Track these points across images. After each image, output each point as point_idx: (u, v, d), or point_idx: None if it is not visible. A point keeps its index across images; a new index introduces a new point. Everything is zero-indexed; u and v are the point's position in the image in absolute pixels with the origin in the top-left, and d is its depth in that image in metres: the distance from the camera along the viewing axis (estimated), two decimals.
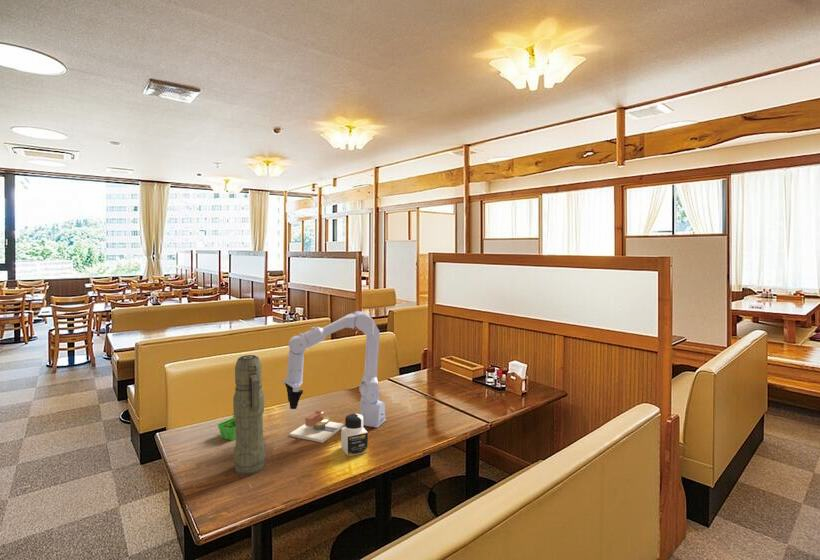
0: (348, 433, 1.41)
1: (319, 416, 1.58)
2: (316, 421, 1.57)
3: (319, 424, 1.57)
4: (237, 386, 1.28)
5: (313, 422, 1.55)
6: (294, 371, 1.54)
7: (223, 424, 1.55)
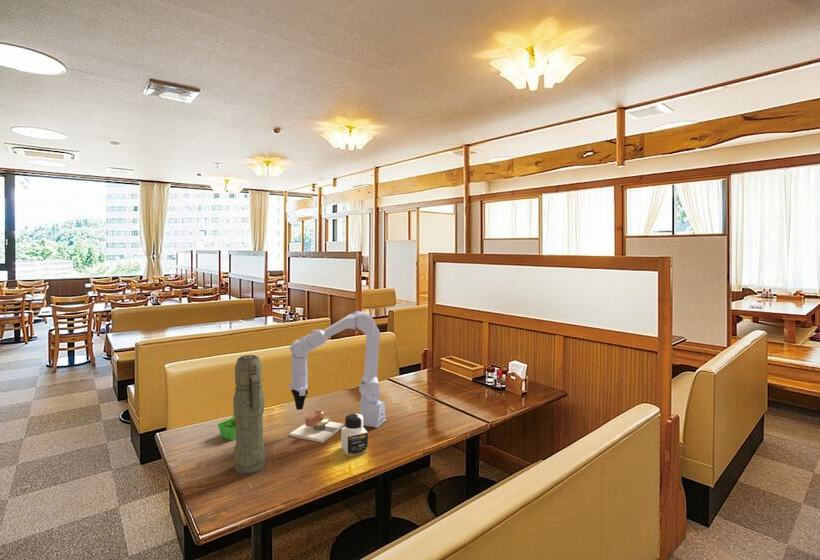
0: (348, 433, 1.41)
1: (319, 416, 1.58)
2: (316, 421, 1.57)
3: (319, 424, 1.57)
4: (237, 386, 1.28)
5: (313, 422, 1.55)
6: (299, 375, 1.54)
7: (223, 424, 1.55)
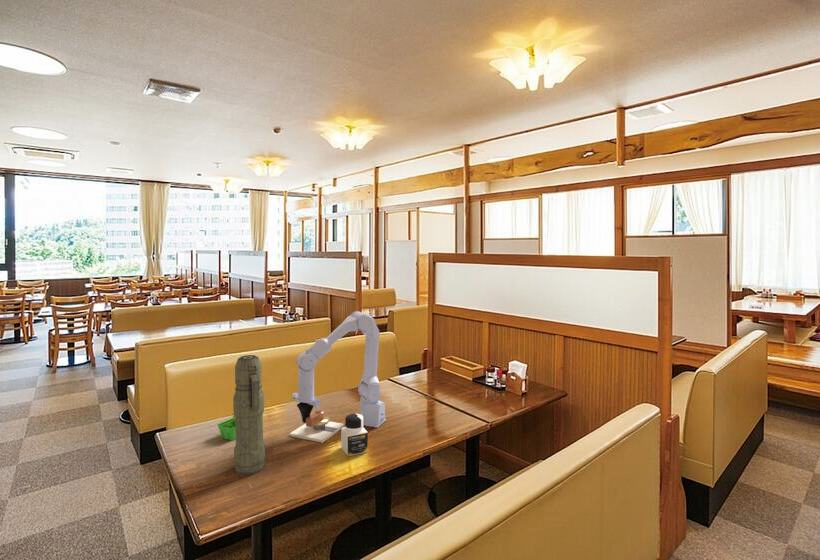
0: (348, 433, 1.41)
1: (319, 416, 1.58)
2: (316, 421, 1.57)
3: (319, 424, 1.57)
4: (237, 386, 1.28)
5: (313, 422, 1.55)
6: (309, 388, 1.53)
7: (223, 424, 1.55)
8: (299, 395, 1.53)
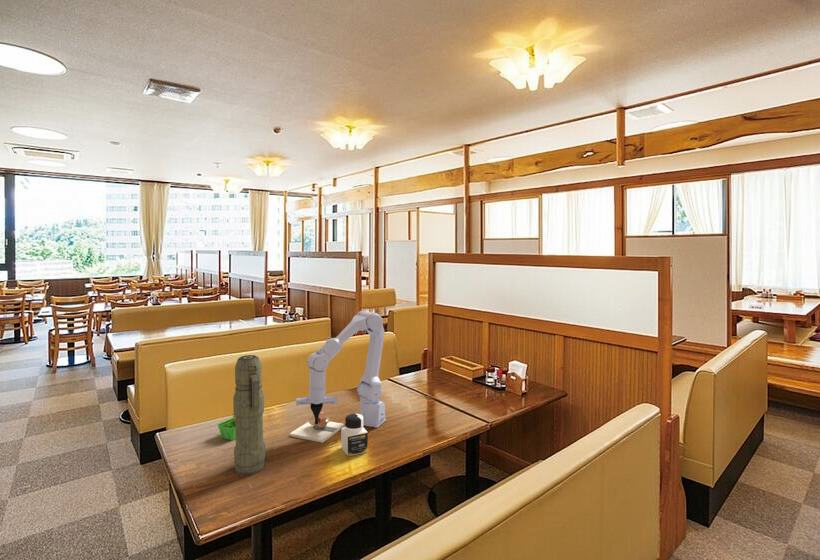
0: (348, 433, 1.41)
1: None
2: None
3: (326, 422, 1.58)
4: (237, 386, 1.28)
5: None
6: (324, 387, 1.54)
7: (223, 424, 1.55)
8: (316, 397, 1.51)
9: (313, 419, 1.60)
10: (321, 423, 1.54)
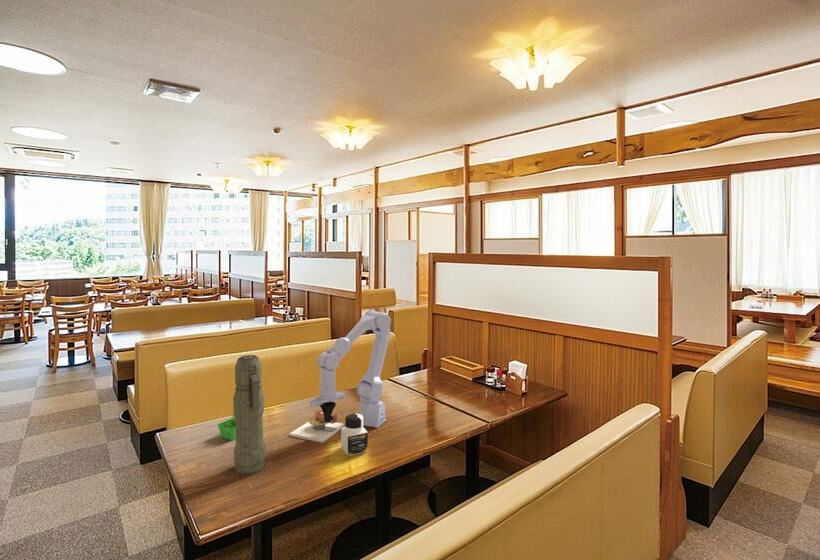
0: (348, 433, 1.41)
1: None
2: None
3: None
4: (237, 386, 1.28)
5: None
6: None
7: (223, 424, 1.55)
8: (332, 395, 1.54)
9: (314, 421, 1.59)
10: (333, 420, 1.57)
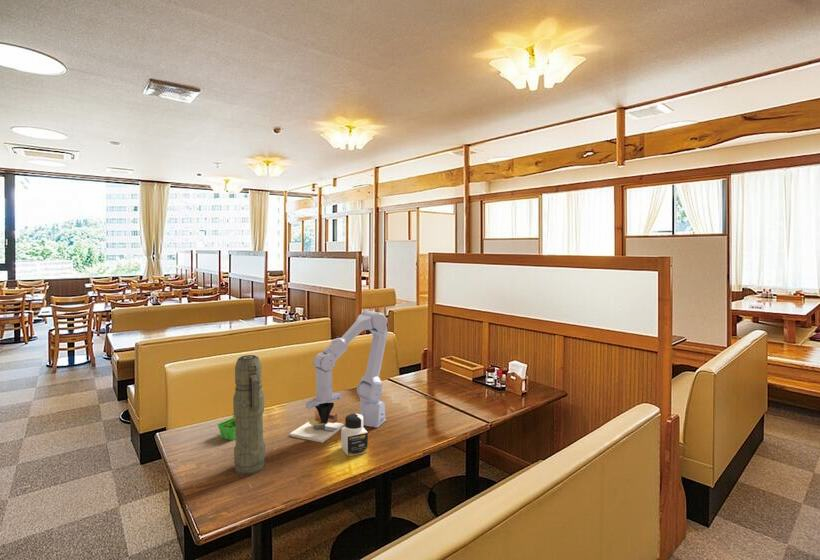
0: (348, 433, 1.41)
1: None
2: None
3: None
4: (237, 386, 1.28)
5: None
6: None
7: (223, 424, 1.55)
8: (328, 395, 1.53)
9: (314, 421, 1.59)
10: (334, 419, 1.57)
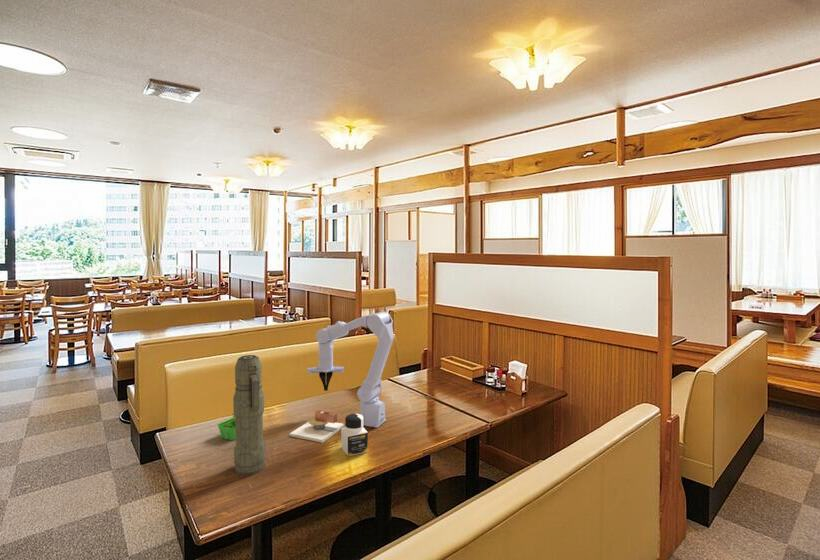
0: (348, 433, 1.41)
1: None
2: None
3: None
4: (237, 386, 1.28)
5: None
6: (332, 358, 1.74)
7: (223, 424, 1.55)
8: (325, 366, 1.72)
9: (314, 421, 1.59)
10: (334, 419, 1.57)
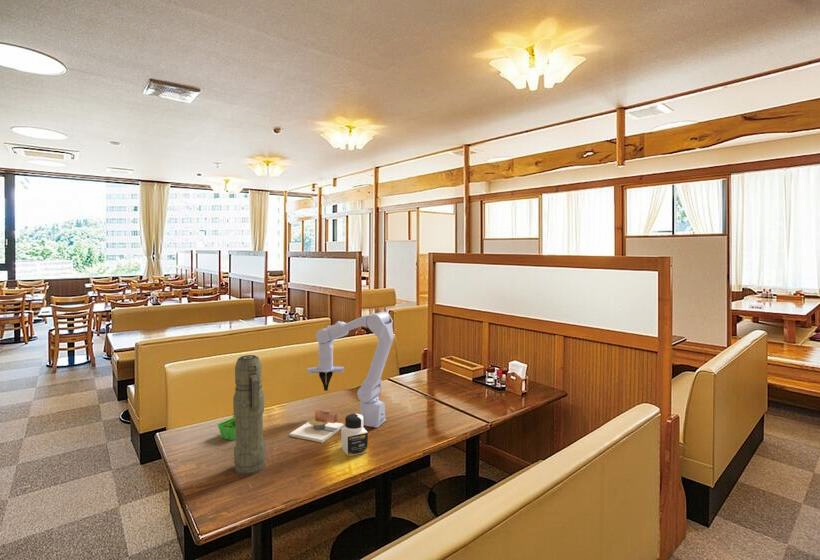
0: (348, 433, 1.41)
1: None
2: None
3: None
4: (237, 386, 1.28)
5: None
6: (332, 358, 1.74)
7: (223, 424, 1.55)
8: (325, 366, 1.72)
9: (314, 421, 1.59)
10: (334, 419, 1.57)
